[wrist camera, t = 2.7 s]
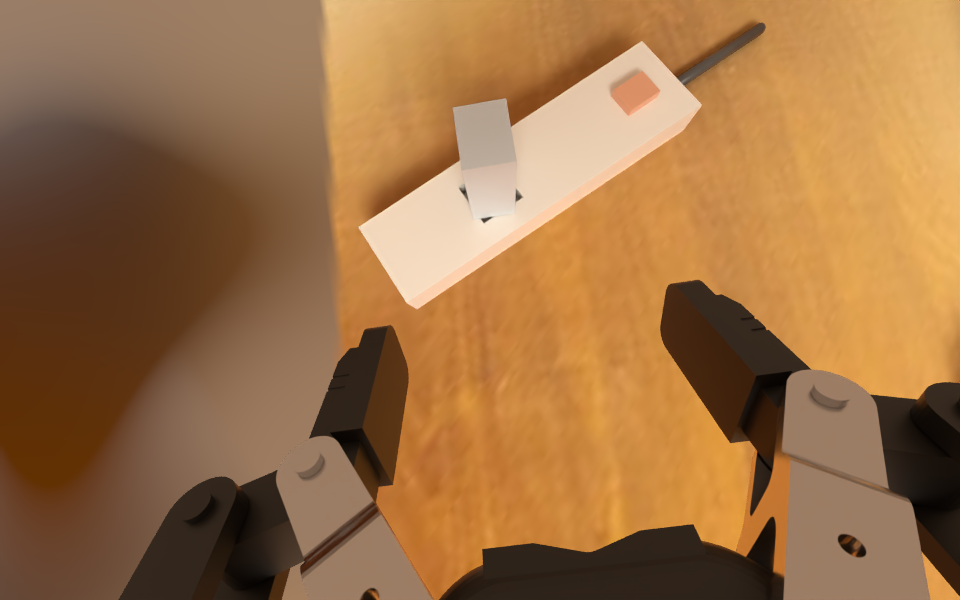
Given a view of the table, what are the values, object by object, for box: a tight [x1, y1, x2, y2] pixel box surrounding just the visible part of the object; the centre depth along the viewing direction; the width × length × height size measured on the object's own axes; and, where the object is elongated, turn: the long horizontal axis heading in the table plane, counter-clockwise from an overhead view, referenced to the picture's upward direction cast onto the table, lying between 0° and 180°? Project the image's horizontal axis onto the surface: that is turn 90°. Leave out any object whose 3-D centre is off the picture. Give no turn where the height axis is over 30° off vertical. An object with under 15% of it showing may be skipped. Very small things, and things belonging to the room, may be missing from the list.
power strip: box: [358, 23, 766, 309], centre depth 33 cm, size 42×8×4 cm, turn 124°
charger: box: [453, 98, 517, 220], centre depth 28 cm, size 4×4×10 cm
